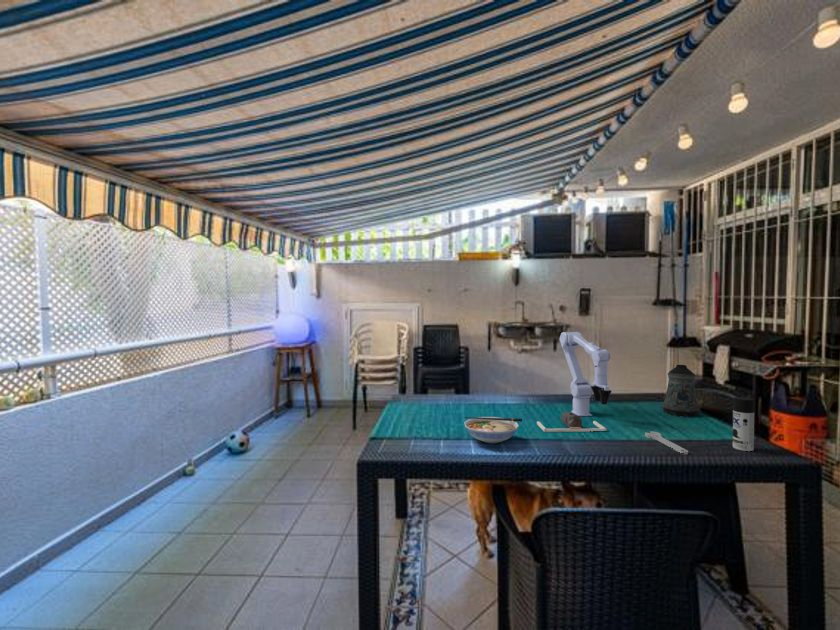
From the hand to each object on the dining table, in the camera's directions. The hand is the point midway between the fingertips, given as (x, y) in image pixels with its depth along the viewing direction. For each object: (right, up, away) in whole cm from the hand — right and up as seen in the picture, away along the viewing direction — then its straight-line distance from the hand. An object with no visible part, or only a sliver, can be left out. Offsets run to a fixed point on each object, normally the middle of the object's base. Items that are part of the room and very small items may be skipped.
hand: (600, 402), depth 206 cm
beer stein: (+48, -9, +16) cm, 51 cm away
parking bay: (-18, -10, -9) cm, 22 cm away
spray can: (+39, -10, -40) cm, 57 cm away
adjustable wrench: (+12, -11, -32) cm, 36 cm away
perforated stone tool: (-18, -10, -7) cm, 22 cm away
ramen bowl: (-58, -11, -27) cm, 65 cm away
